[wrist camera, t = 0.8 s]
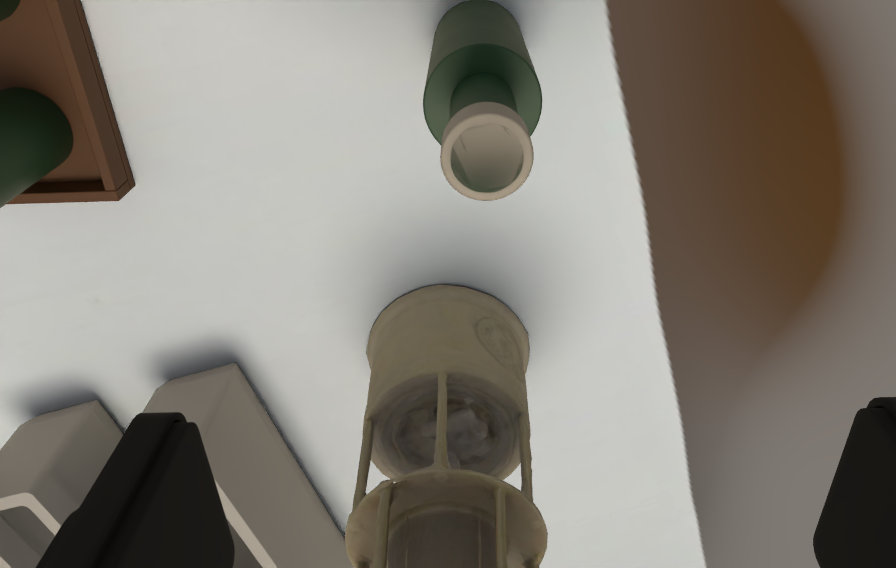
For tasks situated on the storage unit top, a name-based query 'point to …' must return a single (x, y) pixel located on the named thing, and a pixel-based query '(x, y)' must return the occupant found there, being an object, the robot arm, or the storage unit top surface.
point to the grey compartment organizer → (230, 457)
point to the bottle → (482, 100)
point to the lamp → (446, 438)
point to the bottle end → (29, 140)
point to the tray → (66, 99)
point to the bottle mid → (7, 8)
